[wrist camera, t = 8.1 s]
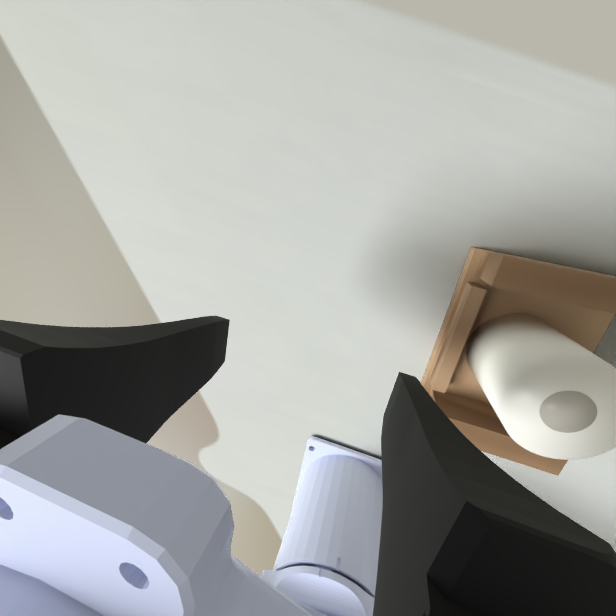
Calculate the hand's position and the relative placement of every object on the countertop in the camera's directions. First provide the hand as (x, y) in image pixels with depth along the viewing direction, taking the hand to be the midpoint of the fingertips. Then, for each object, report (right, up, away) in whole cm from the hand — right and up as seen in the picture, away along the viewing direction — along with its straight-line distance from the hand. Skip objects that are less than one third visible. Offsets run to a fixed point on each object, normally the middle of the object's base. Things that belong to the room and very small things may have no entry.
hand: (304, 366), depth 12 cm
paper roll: (+13, 0, +6) cm, 14 cm away
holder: (+13, 0, +7) cm, 15 cm away
